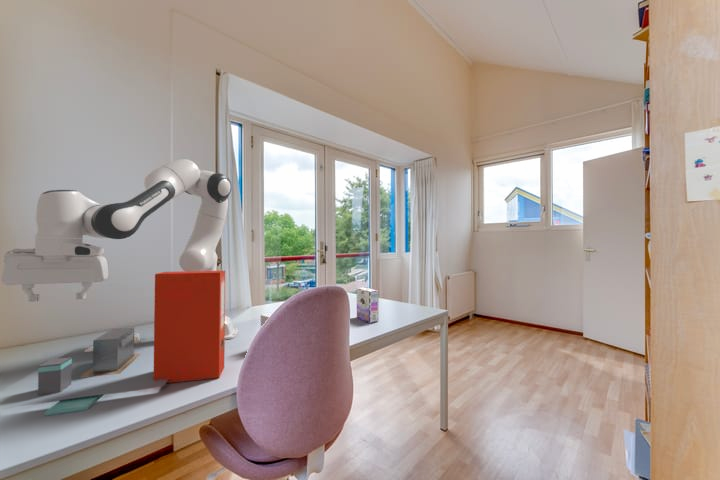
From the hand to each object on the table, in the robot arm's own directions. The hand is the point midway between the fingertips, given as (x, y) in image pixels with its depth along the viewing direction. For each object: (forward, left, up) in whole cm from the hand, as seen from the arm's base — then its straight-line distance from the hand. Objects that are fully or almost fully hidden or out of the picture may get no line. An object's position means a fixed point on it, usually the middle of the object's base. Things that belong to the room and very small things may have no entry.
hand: (58, 300), depth 77 cm
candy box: (-106, -44, -26) cm, 117 cm away
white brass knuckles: (+1, -36, -26) cm, 44 cm away
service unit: (-7, -14, -24) cm, 29 cm away
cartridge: (0, 0, -26) cm, 26 cm away
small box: (-57, -18, -26) cm, 65 cm away
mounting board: (-7, -14, -26) cm, 30 cm away
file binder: (-32, -1, -26) cm, 41 cm away
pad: (-8, +7, -26) cm, 28 cm away
